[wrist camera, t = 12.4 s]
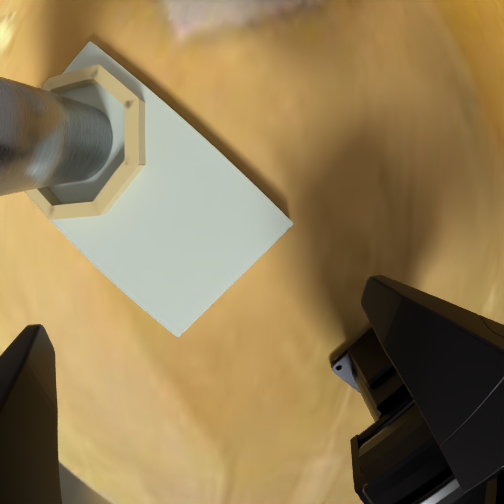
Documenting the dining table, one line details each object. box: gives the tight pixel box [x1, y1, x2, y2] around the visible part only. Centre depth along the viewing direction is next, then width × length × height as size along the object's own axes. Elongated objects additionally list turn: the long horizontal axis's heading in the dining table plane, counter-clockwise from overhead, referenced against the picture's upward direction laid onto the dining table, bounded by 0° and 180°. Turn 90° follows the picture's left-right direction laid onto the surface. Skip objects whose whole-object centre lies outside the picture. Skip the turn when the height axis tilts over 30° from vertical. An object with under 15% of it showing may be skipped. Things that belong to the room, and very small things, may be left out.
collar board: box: [24, 41, 294, 337], centre depth 16 cm, size 17×10×2 cm, turn 46°
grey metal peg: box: [0, 77, 113, 196], centre depth 9 cm, size 5×5×12 cm
